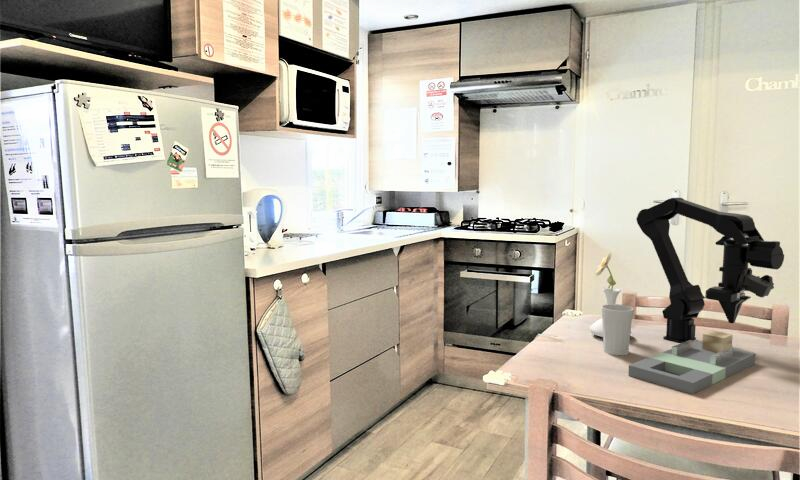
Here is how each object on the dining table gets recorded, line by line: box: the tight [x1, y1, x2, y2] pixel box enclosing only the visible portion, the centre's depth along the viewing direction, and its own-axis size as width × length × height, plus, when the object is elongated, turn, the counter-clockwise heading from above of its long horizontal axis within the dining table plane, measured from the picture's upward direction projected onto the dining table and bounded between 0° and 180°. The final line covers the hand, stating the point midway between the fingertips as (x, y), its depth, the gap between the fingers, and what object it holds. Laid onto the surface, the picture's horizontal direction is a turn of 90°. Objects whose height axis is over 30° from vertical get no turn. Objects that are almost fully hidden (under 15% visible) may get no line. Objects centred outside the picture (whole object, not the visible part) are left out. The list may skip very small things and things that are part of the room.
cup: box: [600, 303, 635, 356], centre depth 155 cm, size 8×8×12 cm
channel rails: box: [671, 340, 734, 365], centre depth 144 cm, size 10×9×2 cm
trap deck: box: [628, 339, 757, 395], centre depth 142 cm, size 15×32×2 cm, turn 128°
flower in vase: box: [589, 251, 632, 338], centre depth 168 cm, size 13×11×25 cm
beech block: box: [701, 330, 733, 353], centre depth 149 cm, size 5×5×4 cm
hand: (731, 322), depth 153 cm, fingers closed
